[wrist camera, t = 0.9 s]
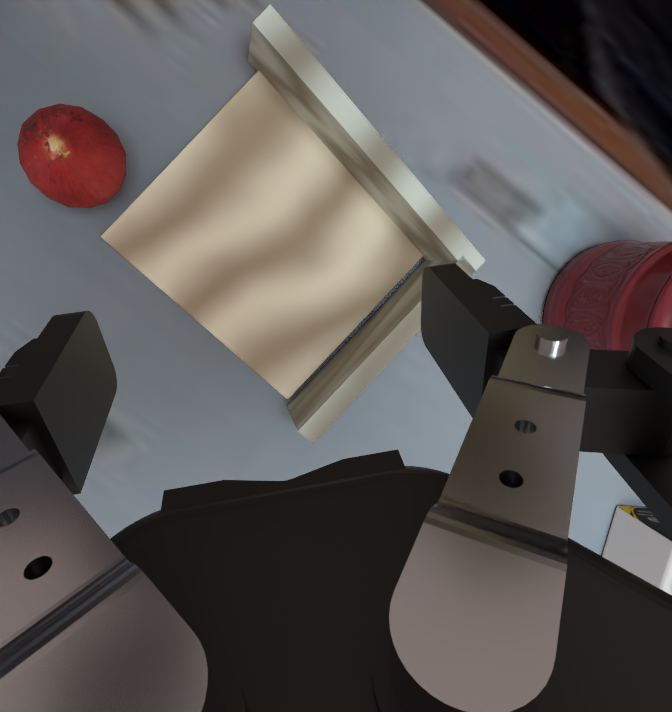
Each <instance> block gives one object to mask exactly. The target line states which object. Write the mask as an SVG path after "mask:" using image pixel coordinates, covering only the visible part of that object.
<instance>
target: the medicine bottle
mask: <svg viewBox="0 0 672 712" xmlns="http://www.w3.org/2000/svg"><path fill="white" fill-rule="evenodd" d="M602 557H604V558H606V559H607V560H609V561H611V562H613V563H615V564H616V565H618V566H620V567H622V568H624V569H625V570H627V571H629V572H631V573H633V574H634V575H636V576H638V577H640V578H642V579H643V580H645V581H647V582H649V583H650V584H652V585H654V586H656V587H658V588H659V589H661V590H663V591H665V592H667V593H668V594H670V595H672V537H671V536H670V535H669V533H668V532H667V531H666V530H665V528H664V527H663V526H662V525H661V524H660V522H659V521H658V520H657V519H656V518H655V516H654V515H653V514H652V513H651V512H650V510H649V509H648V508H645V507H632V506H617V508H616V511H615V514H614V518H613V521H612V524H611V528H610V531H609V534H608V538H607V541H606V544H605V548H604V551H603V554H602Z"/></svg>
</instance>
